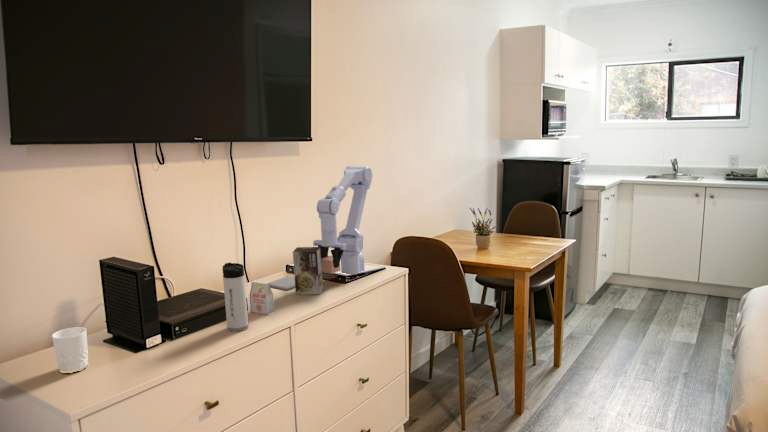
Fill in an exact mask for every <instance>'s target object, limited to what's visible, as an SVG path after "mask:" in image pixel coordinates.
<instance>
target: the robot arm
mask: <svg viewBox="0 0 768 432" xmlns="http://www.w3.org/2000/svg"><path fill="white" fill-rule="evenodd" d="M372 180H373V172H372V169H371V167H370V166H369V165H366V166H364V165H363V166H361V165H360V166H356V165H355V166H354V165H348V166H346V167H345V169H344V170H343V177H342V179H341V180H340V182H339V183H338V185H334V186H332V187H331V189H330V190H329V192H328V193H327V194H326V196H325V197H324V198H323V197H322V198H320V199H319V200H318V201H317V204H316V211H317V213H318V217H319V219H320V233H321V235H320V236H321V239H315V240H313V242H312V243H313V244H312V245H313V247H320V248H321V259H322V258H325V257H328V256H329V251H330V253H331V256H333V264H334V268H337V267H339V264H340V271H341V272H342V273H346V274H356V273H359V272H361V271H365V257H364V254H363V253H362V251H363V248H364V237H365V236H363V234H362V233H361V232H360V231H359V230H360V226H361V221H362V216H363V212H364V206H365V203H366V198H367V195H368V194H367V193H368V190H369V189H370V188H371V183H372ZM349 188H350V189H351V190H352V191H353V195H352V200H351V203H350V208H349V212H348V216H347V219H346V220H347V222H346V226H345V228H344V229H342V230H341V231H339V233H338V230H337V229H338V228H337V214H338V213H339V209H340V206H341V202H342V201H343V200H344V198H345V197H346V195H347V194H346V193H347V192H346V191H348V189H349ZM330 248H332V249H331V250H329V249H330ZM365 272H366V271H365ZM358 277H359V276H357V277H356V278H358Z"/></svg>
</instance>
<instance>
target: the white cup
mask: <svg viewBox="0 0 768 432" xmlns="http://www.w3.org/2000/svg"><path fill="white" fill-rule="evenodd" d="M87 332H88V331H87V328H86V327H83V326H82V327H81V326H72V327H68V328H63V329H60V330H58V331H55V332H53V333H52V335H51V339H52V344H53V349H54V355H55V359H56V362H57V366H58V370H59V369H60V370H62V371H72V370H77V369H80V368H82V367H85V366H86V365H87V364H88V365H89V348H88V347H89V346H88V334H87Z"/></svg>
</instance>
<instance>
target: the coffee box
mask: <svg viewBox="0 0 768 432" xmlns="http://www.w3.org/2000/svg"><path fill="white" fill-rule="evenodd" d="M292 259H293V260H292V261H293V271H294V272H293V274H294V278H295V288H294V289H295V295H321V293H322V291H324V286H323V285H324V283H323V282H324V281H323V272H322V264H321V248H320V247H318V246H303V247H302V246H301V247H299V246H298V247H295V249H294V250H293V251H292Z"/></svg>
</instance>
